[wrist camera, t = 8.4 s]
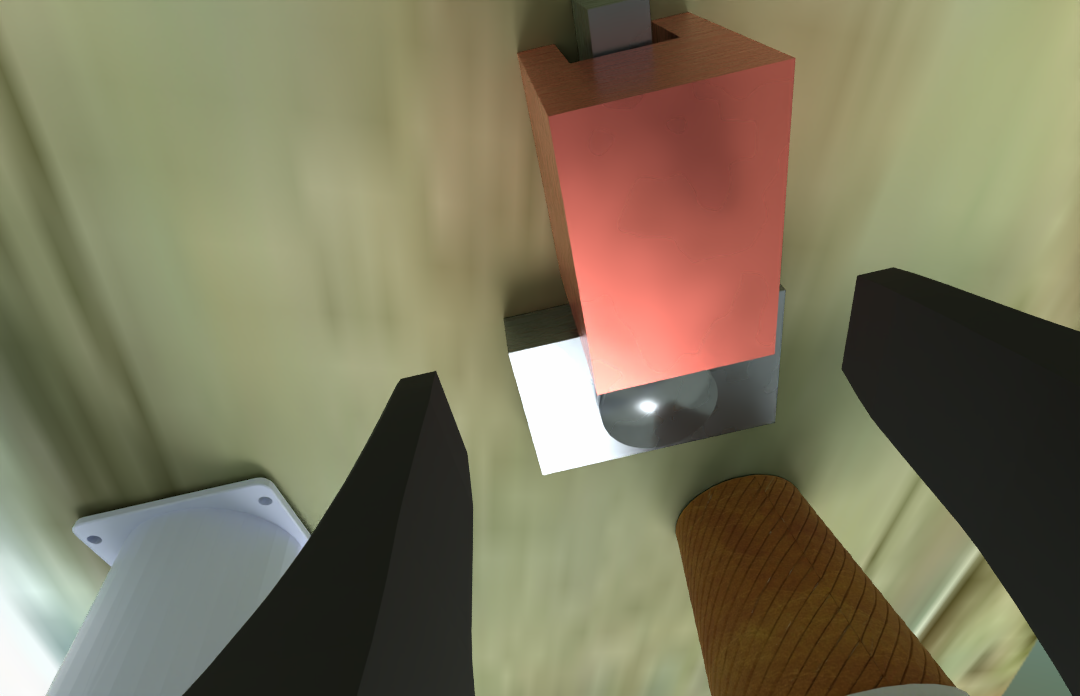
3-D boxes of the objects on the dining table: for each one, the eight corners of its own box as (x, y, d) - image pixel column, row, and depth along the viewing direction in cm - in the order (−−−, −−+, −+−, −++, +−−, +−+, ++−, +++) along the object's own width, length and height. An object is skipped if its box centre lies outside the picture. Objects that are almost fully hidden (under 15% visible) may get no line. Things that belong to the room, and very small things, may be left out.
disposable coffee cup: (817, 419, 26) (1039, 724, 16) (843, 532, 31) (1019, 809, 22) (615, 499, 27) (706, 821, 17) (674, 593, 33) (768, 877, 23)
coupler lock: (695, 246, 20) (774, 353, 15) (560, 277, 20) (597, 394, 15) (687, 12, 15) (795, 57, 11) (517, 52, 16) (548, 116, 11)
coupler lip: (753, 388, 24) (784, 437, 22) (536, 437, 24) (545, 491, 22) (773, -50, 15) (830, -43, 13) (424, 32, 15) (420, 54, 13)
